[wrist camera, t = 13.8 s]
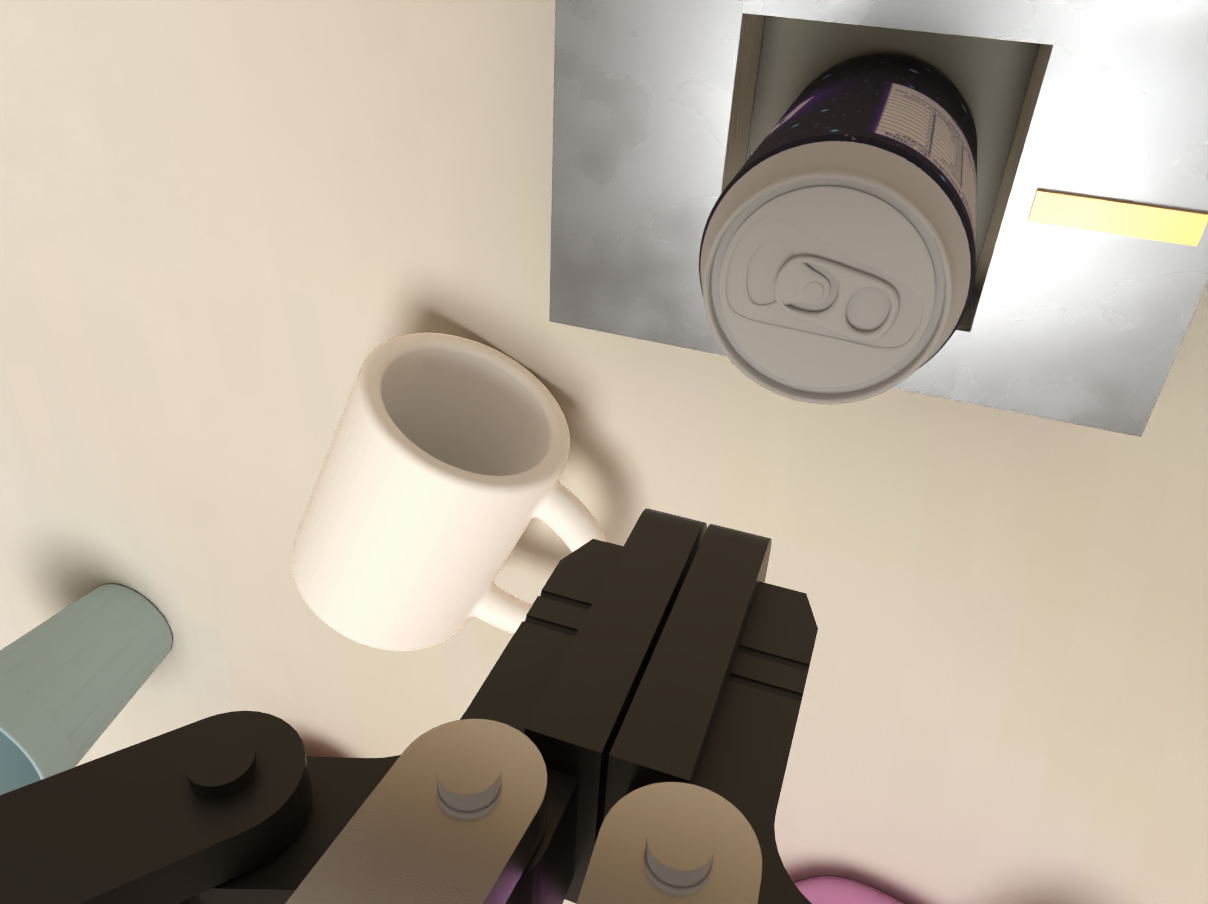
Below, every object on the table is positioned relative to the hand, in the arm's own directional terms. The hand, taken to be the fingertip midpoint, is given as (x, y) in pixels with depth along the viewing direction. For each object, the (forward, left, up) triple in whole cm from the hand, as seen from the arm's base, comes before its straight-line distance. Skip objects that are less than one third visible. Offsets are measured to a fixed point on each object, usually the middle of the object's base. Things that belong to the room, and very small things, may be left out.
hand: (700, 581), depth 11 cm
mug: (+12, +15, -22) cm, 29 cm away
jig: (0, 0, -21) cm, 21 cm away
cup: (+36, +32, -22) cm, 53 cm away
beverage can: (0, 0, -22) cm, 22 cm away
